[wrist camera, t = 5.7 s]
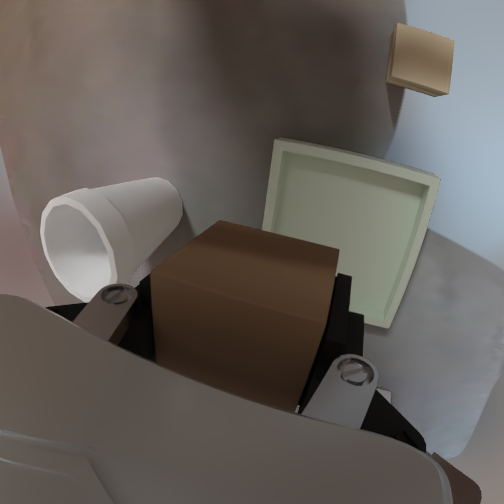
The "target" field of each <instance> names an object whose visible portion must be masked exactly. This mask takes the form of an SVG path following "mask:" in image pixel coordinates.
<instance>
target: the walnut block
mask: <svg viewBox="0 0 504 504" xmlns="http://www.w3.org/2000/svg"><path fill="white" fill-rule="evenodd" d="M339 252H340V249H337V248H333V247H329V246H325V245H321V244H317V243H313V242H309V241H305V240H301V239H297V238H293V237H288V236H284V235H280V234H276V233H272V232H268V231H264V230H259V229H255V228H251V227H247V226H243V225H238V224H234V223H230V222H226V221H221V220H219V221H218V222H216V223H215V224H214V225H212V226H211V227H209V228H208V229H207V230H205V231H204V232H203V233H201V234H200V235H199V236H197V237H196V238H195V239H193V240H192V241H191V242H189V243H188V244H187V245H185V246H184V247H183V248H181V249H180V250H179V251H177V252H176V253H175V254H173V255H172V256H171V257H169V258H168V259H167V260H165V261H164V262H163V263H161V264H160V265H159V266H158V267H156V268H155V269H154V270H152V271H151V272H150V276H151V298H152V315H153V329H154V342H155V353H156V363H157V364H159V365H162V366H164V367H166V368H169V369H171V370H174V371H176V372H178V373H181V374H183V375H186V376H188V377H191V378H193V379H196V380H199V381H201V382H204V383H206V384H209V385H212V386H215V387H217V388H220V389H223V390H226V391H228V392H231V393H234V394H237V395H240V396H243V397H246V398H249V399H252V400H255V401H258V402H261V403H265V404H268V405H271V406H274V407H278V408H281V409H285V410H288V411H292V412H295V409H296V407H297V404H298V402H299V399H300V397H301V394H302V391H303V389H304V386H305V383H306V381H307V378H308V375H309V372H310V370H311V367H312V364H313V361H314V358H315V355H316V353H317V350H318V347H319V344H320V341H321V338H322V335H323V332H324V329H325V326H326V322H327V317H328V312H329V307H330V302H331V297H332V292H333V286H334V281H335V275H336V269H337V264H338V258H339Z"/></svg>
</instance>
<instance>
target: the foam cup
mask: <svg viewBox="0 0 504 504" xmlns="http://www.w3.org/2000/svg"><path fill="white" fill-rule="evenodd" d="M182 215H183V207H182V200H181V198H180V196H179V193H178V191H177V189H176V188H175V187H174V186H173V185H172V184H171V183H170V182H169V181H167V180H164V179H161V178H158V177H156V178H149V179H143V180H137V181H131V182H125V183H120V184H115V185H109V186H104V187H99V188H94V189H87V188H83V189H79V190H76V191H72V192H69V193H67V194H64V195H62V196H59V197H57V198H54V199H52V200H50V202H49V203H48V205H47V206H46V208H45V210H44V211H43V213H42V219H41V229H40V235H41V240H42V244H43V249H44V253H45V256H46V258H47V260H48V262H49V264H50V266H51V268H52V270H53V272H54V274H55V276H56V277H57V278H58V280H59V281H60V282H61V283H62V284H63V285H64V287H65V288H66V289H67V290H68V291H69V292H70V293H71V294H73V295H74V296H76V297H77V298H79V299H81V300H82V301H84V302H85V303H87V302H90V301H91V299H92V298H93V297H94V296H95V295H96V294H97V292H98V291H99V290H100V289H102V288H103V287H105V286H107V285H111V284H118V283H121V284H128V283H129V282H130V279H131V276H132V275H133V274H134V273H135V272H136V271H137V269H138V268H139V267H140V266H141V265H142V264H143V263H144V262H145V261H146V259H147V258H148V257H149V256H150V255H151V254H152V253H153V252H154V251H155V250H156V249H157V247H158V246H159V245H160V244H161V243H162V242H163V241H164V240H165V239H166V238H167V237H168V236H169V235H170V233H171V232H172V231H173V230H174V229H175V228H176V226H178V224H179V222H180V220H181V218H182Z"/></svg>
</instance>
